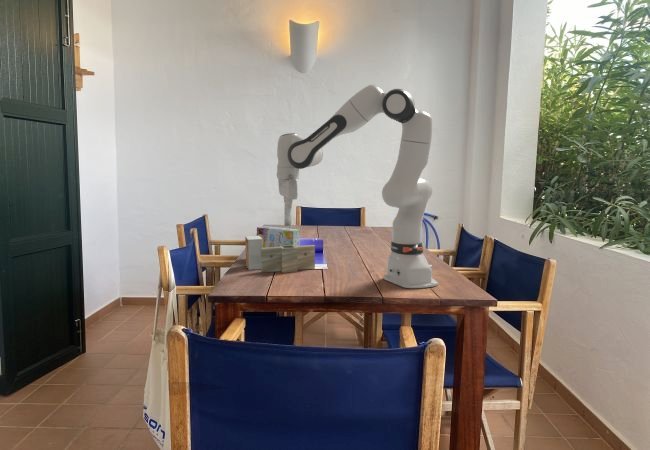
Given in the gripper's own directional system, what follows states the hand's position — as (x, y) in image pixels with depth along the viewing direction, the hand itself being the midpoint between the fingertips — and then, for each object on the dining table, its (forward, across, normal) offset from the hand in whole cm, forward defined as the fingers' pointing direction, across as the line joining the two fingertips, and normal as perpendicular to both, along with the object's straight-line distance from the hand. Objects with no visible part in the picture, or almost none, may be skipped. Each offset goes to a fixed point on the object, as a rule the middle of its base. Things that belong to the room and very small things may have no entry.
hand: (288, 208), depth 195 cm
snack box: (+27, +19, 0) cm, 33 cm away
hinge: (+26, 0, 0) cm, 26 cm away
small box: (+27, +9, +13) cm, 31 cm away
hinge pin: (+7, 0, 0) cm, 7 cm away
